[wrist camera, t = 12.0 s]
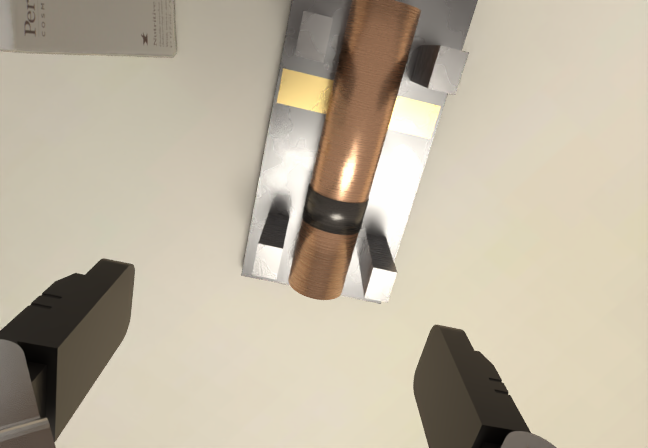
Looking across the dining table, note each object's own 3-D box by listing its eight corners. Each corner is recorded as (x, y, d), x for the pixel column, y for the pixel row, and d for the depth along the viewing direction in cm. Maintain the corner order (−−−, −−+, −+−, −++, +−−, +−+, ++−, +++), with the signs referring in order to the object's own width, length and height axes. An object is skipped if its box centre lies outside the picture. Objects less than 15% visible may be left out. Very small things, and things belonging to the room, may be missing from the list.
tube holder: (379, 296, 33) (389, 347, 28) (243, 268, 33) (226, 315, 27) (472, 0, 26) (512, -12, 21) (302, -45, 25) (295, -70, 20)
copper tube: (351, -3, 25) (353, -11, 22) (416, 14, 26) (428, 8, 22) (290, 265, 31) (284, 292, 28) (342, 277, 32) (343, 305, 28)
